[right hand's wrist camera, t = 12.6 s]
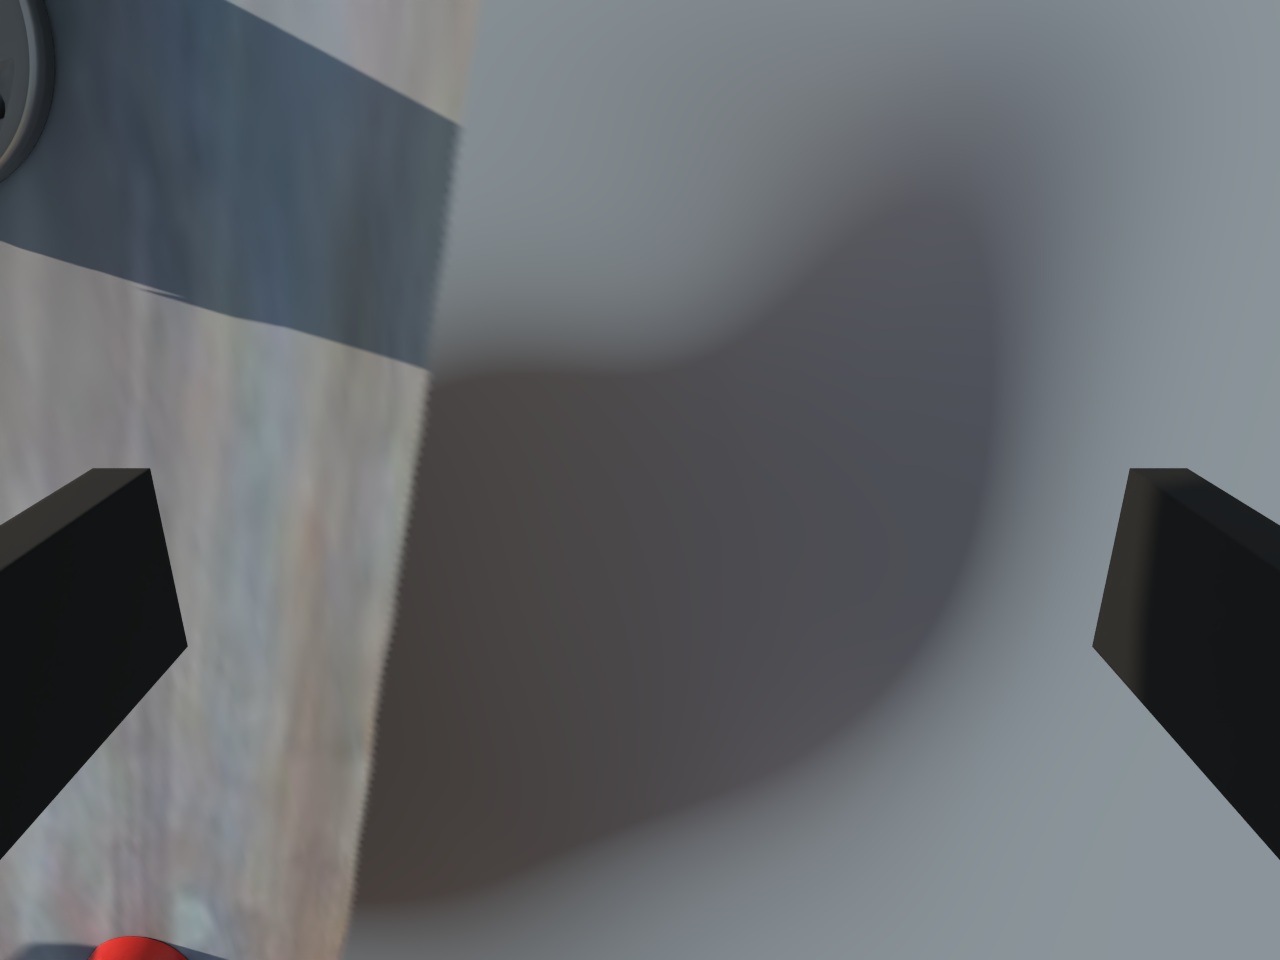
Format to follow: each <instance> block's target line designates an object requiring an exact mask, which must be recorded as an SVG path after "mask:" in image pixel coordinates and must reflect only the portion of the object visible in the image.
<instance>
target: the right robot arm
mask: <svg viewBox="0 0 1280 960" xmlns="http://www.w3.org/2000/svg"><path fill="white" fill-rule="evenodd" d="M54 75H55V61H54V46H53V39H52V32H51V27H50V23H49V18H48V14H47V10H46V7H45V4H44V1H43V0H0V182H1V181H2V180H4V179H5V178H7V177H8V176H9V175H10V174H11V173H12V172H13V171H15V170H16V169H17V168H18V167H19V166H20V164H21V163H22V162H23V161H24V160H25V159H26V158H27V156H28V155H29V153H30V152H31V150H32V149H33V147H34V146H35V144H36V142H37V140H38V138H39V137H40V135H41V133H42V130H43V128H44V125H45V123H46V120H47V117H48V113H49V110H50V106H51V102H52V95H53V89H54ZM187 647H188V646H187V641H186V636H185V631H184V627H183V622H182V617H181V612H180V608H179V603H178V598H177V594H176V589H175V584H174V579H173V575H172V570H171V565H170V560H169V556H168V551H167V546H166V542H165V537H164V532H163V527H162V523H161V518H160V513H159V508H158V504H157V499H156V494H155V489H154V485H153V480H152V475H151V471H150V468H93V469H91V470H90V471H88V472H86V473H85V474H83V475H81V476H80V477H78V478H77V479H75V480H73V481H72V482H70V483H68V484H67V485H65V486H64V487H62V488H60V489H59V490H57V491H55V492H54V493H52V494H51V495H49V496H47V497H46V498H44V499H42V500H41V501H39V502H38V503H36V504H34V505H33V506H31V507H29V508H28V509H26V510H25V511H23V512H21V513H20V514H18V515H16V516H15V517H13V518H12V519H10V520H8V521H7V522H5V523H3V524H2V525H0V860H1V858H2V857H3V856H4V855H5V854H6V853H7V852H8V850H9V849H10V848H11V847H12V846H13V845H14V844H15V842H16V841H17V840H18V839H19V838H20V837H21V836H22V834H23V833H24V832H25V831H26V830H27V829H28V828H29V827H30V825H31V824H32V823H33V822H34V821H35V820H36V819H37V817H38V816H39V815H40V814H41V813H42V812H43V811H44V809H45V808H46V807H47V806H48V805H49V804H50V803H51V801H52V800H53V799H54V798H55V797H56V796H57V795H58V794H59V792H60V791H61V790H62V789H63V788H64V787H65V786H66V784H67V783H68V782H69V781H70V780H71V779H72V778H73V776H74V775H75V774H76V773H77V772H78V771H79V770H80V768H81V767H82V766H83V765H84V764H85V763H86V762H87V760H88V759H89V758H90V757H91V756H92V755H93V754H94V753H95V751H96V750H97V749H98V748H99V747H100V746H101V745H102V743H103V742H104V741H105V740H106V739H107V738H108V737H109V735H110V734H111V733H112V732H113V731H114V730H115V729H116V727H117V726H118V725H119V724H120V723H121V722H122V721H123V720H124V718H125V717H126V716H127V715H128V714H129V713H130V712H131V710H132V709H133V708H134V707H135V706H136V705H137V704H138V702H139V701H140V700H141V699H142V698H143V697H144V696H145V694H146V693H147V692H148V691H149V690H150V689H151V688H152V686H153V685H154V684H155V683H156V682H157V681H158V680H159V679H160V677H161V676H162V675H163V674H164V673H165V672H166V671H167V669H168V668H169V667H170V666H171V665H172V664H173V663H174V661H175V660H176V659H177V658H178V657H179V656H180V655H181V653H182V652H183V651H184V650H185V649H186V648H187ZM1093 648H1094V649H1095V650H1096V651H1097V652H1098V653H1099V655H1100V656H1101V657H1102V658H1103V659H1104V660H1105V661H1106V663H1107V664H1108V665H1109V666H1110V667H1111V668H1112V669H1113V671H1114V672H1115V673H1116V674H1117V675H1118V676H1119V677H1120V678H1121V680H1122V681H1123V682H1124V683H1125V684H1126V685H1127V686H1128V688H1129V689H1130V690H1131V691H1132V692H1133V693H1134V694H1135V696H1136V697H1137V698H1138V699H1139V700H1140V701H1141V702H1142V704H1143V705H1144V706H1145V707H1146V708H1147V709H1148V710H1149V712H1150V713H1151V714H1152V715H1153V716H1154V717H1155V718H1156V719H1157V721H1158V722H1159V723H1160V724H1161V725H1162V726H1163V727H1164V729H1165V730H1166V731H1167V732H1168V733H1169V734H1170V735H1171V737H1172V738H1173V739H1174V740H1175V741H1176V742H1177V743H1178V744H1179V746H1180V747H1181V748H1182V749H1183V750H1184V751H1185V753H1186V754H1187V755H1188V756H1189V757H1190V758H1191V759H1192V760H1193V762H1194V763H1195V764H1196V765H1197V766H1198V767H1199V768H1200V770H1201V771H1202V772H1203V773H1204V774H1205V775H1206V776H1207V778H1208V779H1209V780H1210V781H1211V782H1212V783H1213V784H1214V785H1215V787H1216V788H1217V789H1218V790H1219V791H1220V792H1221V794H1222V795H1223V796H1224V797H1225V798H1226V799H1227V800H1228V801H1229V803H1230V804H1231V805H1232V806H1233V807H1234V808H1235V809H1236V811H1237V812H1238V813H1239V814H1240V815H1241V816H1242V817H1243V819H1244V820H1245V821H1246V822H1247V823H1248V824H1249V825H1250V826H1251V828H1252V829H1253V830H1254V831H1255V832H1256V833H1257V834H1258V836H1259V837H1260V838H1261V839H1262V840H1263V841H1264V842H1265V844H1266V845H1267V846H1268V847H1269V848H1270V849H1271V850H1272V852H1273V853H1274V854H1275V855H1276V856H1277V857H1278V858H1279V860H1280V525H1278V524H1276V523H1275V522H1273V521H1272V520H1270V519H1268V518H1267V517H1265V516H1264V515H1262V514H1260V513H1259V512H1257V511H1255V510H1254V509H1252V508H1251V507H1249V506H1247V505H1246V504H1244V503H1242V502H1241V501H1239V500H1238V499H1236V498H1234V497H1233V496H1231V495H1229V494H1228V493H1226V492H1225V491H1223V490H1221V489H1220V488H1218V487H1216V486H1215V485H1213V484H1212V483H1210V482H1208V481H1207V480H1205V479H1203V478H1202V477H1200V476H1198V475H1197V474H1195V473H1194V472H1192V471H1190V470H1189V469H1187V468H1130V471H1129V475H1128V480H1127V485H1126V490H1125V494H1124V499H1123V504H1122V508H1121V513H1120V518H1119V523H1118V528H1117V532H1116V537H1115V542H1114V547H1113V551H1112V556H1111V560H1110V565H1109V570H1108V575H1107V579H1106V584H1105V589H1104V594H1103V598H1102V603H1101V608H1100V613H1099V617H1098V622H1097V627H1096V631H1095V636H1094V641H1093Z"/></svg>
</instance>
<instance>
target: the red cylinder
mask: <svg viewBox="0 0 1280 960" xmlns="http://www.w3.org/2000/svg"><path fill="white" fill-rule="evenodd" d="M88 960H187V959H186V958H185V957H184V956H183V955H182V954H181V953H180V952H178V951H177V950H175V949H174V948H172V947H170V946H169V945H166V944H164V943H162V942H159V941H157V940H153V939H149V938H144V937H134V936H133V937H120V938H115V939H112V940H109V941H107V942H105V943H103V944H101V945H100V946H98V947H97V948H96V949H95V950H94V951H93V952H92V954H91V955H90V957H89V958H88Z"/></svg>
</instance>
